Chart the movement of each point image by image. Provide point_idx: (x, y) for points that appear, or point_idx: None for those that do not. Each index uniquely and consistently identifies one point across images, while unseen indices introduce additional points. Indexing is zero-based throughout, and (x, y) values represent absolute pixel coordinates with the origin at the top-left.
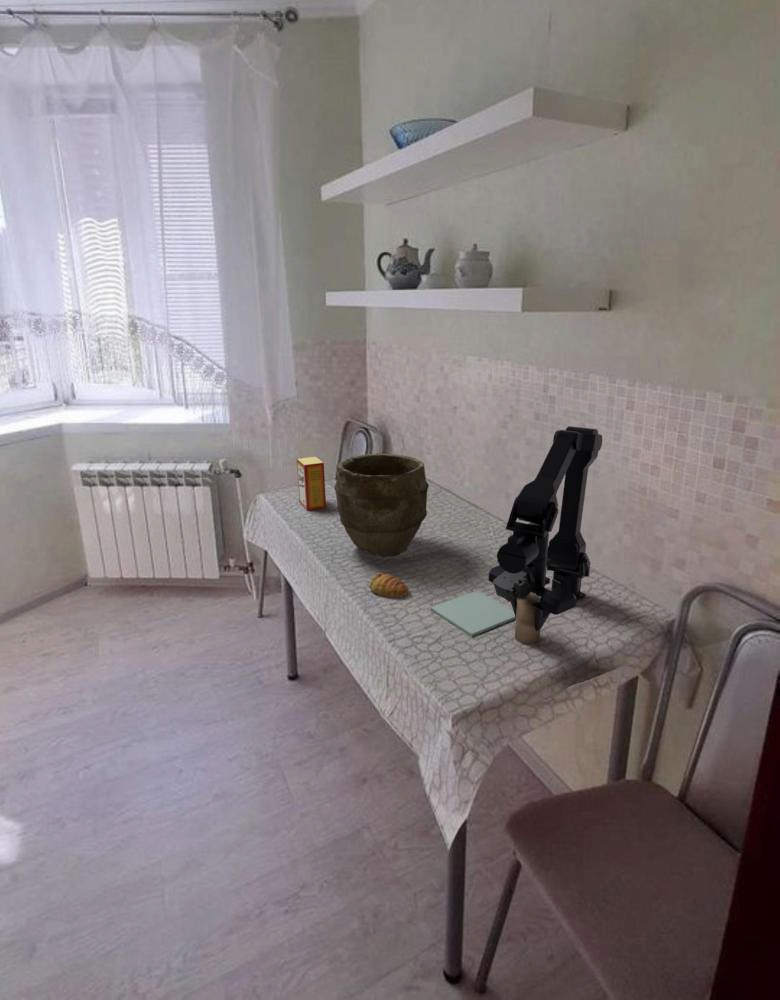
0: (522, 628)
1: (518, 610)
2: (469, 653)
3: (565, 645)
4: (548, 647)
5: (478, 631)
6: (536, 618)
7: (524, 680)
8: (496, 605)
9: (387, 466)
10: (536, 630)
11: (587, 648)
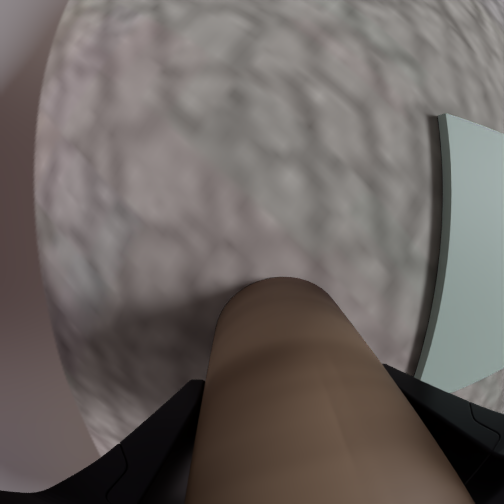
0: (264, 323)
1: (370, 417)
2: (328, 9)
3: (143, 407)
4: (157, 355)
5: (449, 158)
6: (150, 447)
7: (41, 90)
8: (489, 361)
9: None
10: (192, 380)
11: (104, 431)
